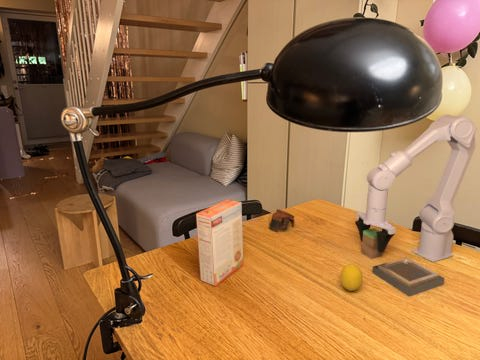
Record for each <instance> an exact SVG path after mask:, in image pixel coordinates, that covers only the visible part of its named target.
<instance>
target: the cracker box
mask: <svg viewBox="0 0 480 360" xmlns="http://www.w3.org/2000/svg"><path fill="white" fill-rule="evenodd" d="M242 203H243V202H241V201H237V200H233V199H227V198H226V199H224V200H223V201H220V202H218V203H216V204H214V205H211V206H209V207H208V208H205V209H203V210H201V211H198V212H197V213H196V214H195V215H196V216H195V217H196V218H195V219H196V234H197V245H198V246H197V247H198V261H199V262H198V263H199V277H200V281H201V282H204V283H206V284H208V285H211V286H212V287H217V286H218V285H219V284H221V282H224V280H226V279H228V277H230V276H231V275H233V274H234V273H235V272H236V271H237V270H239V269H240V268H242V267H243V266H244V247H243V246H244V245H243V244H244V243H243V241H244V240H243V215H242V214H243V213H242V210H243V206H242Z"/></svg>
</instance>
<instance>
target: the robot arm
mask: <svg viewBox="0 0 480 360" xmlns="http://www.w3.org/2000/svg"><path fill="white" fill-rule="evenodd" d="M477 129H478V127H477V126H476V124H475V123H474V121H473V120H472V119H470V118H469V117H466V116H465V117H464V116H456V115H451V114H443V115H441V116H439V117H438V118H437V119H436V120H434V121H433V122H431V124H430V125H429V127H428V128H427V129H426V130H425V131H424V132H423V133H422V134H420V136H418V137H417V138H416V139H415V140H414V141H412V143H410V144H409V146H407V147H405V148H404V150H397V151H395V152H394V151H392V152H391V153H390V157H388V158H387V159H386V160H385V161H383V162H382V163H379V164H378V165H377V167H374V168H372V169H370V170H369V172H367V175H365V179H366V182H367V183H368V186H367V187H368V190H367V199H366V208H365V212H362V211H359V212H356V216H355V219H357V220H355V221H354V223H355V224H354V225H356V228H357V231H358V234H359V239H360V243H362V239H363V231H364V230H368V229H371V226H374V227H377V228H378V229H380V230H379V231H378V232H376V233H377V237H378V252H383V253H384V252H385V251H386V249H387V246H388V244H389V242H390V241H391V239H392V238H393V237H394V236H395V234H396V229H397V228H396V227H395V226H394V225H392V224H391V223H390V222H388V221H387V220H386V215H387V214H386V212H387V205H388V204H387V203H388V193H389V188H391V187H392V185H393V183H394V180H395V179H396V178H397V177H398V176H400V175H401V174H402V173H403V172H404V171H406V170H407V169H408V168H409V167H410V166H412V164H413V163H412V162H413V159H415V157H417V156H418V155H420V154H421V153H423V152H424V151H425V150H427V149H428V148H430V147H431V146H432V145H434V144H435V143H438V142H447V143H448V144H449V146H450V148H451V151H450V153H449V155H448V157H447V161H446V164H445V166H444V168H443V170H442V174H441V176H440V179H439V181H438V184H437V186H436V189H435V191H434V194H433V196H432V197H431V198H428V199H427V200H426V202H425V204H424V205H423V206H422V207H421V208H420V210H419V213H418V216H419V219H420V220H421V228H420V229H421V230H420V233H419V234H420V236H419V243H418V247H417V248H414V249H412V250H411V252H413V253H414V254H416V255H419V257H422V258H423V259H426V260H428V261H430V262H433V263H434V262H437V261H441V260H444V259H447V258H451V257H453V256H454V254H453V253H452V250H453V249H452V248H453V243H454V233H453V231H452V229H453V228H454V224H455V215H456V210H455V206H454V205H453V203H454V201H455V198H456V195H457V193H458V191H459V189H460V186H461V183H462V181H463V179H464V176H465V173H467V169H468V167H469V164H470V162H471V160H472V157H473V155H474V152H475V150H476V136H475V135H476V132H477Z"/></svg>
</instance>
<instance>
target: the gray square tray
mask: <svg viewBox="0 0 480 360" xmlns="http://www.w3.org/2000/svg"><path fill="white" fill-rule="evenodd" d="M371 272H372V274H374V275H375V276H377V277H378V278H380V280H382V281H384V282H385V283H387V284H389V285H391V286H392V287H393V288H395V289H397V290H398V291H400V292H401V293H403V294H405V296H407V297H413V296H415V295H418V294H420V293H423V292H427V291H430V290H432V289H435V288H439V287H441V286H444V283H445V277H444V276H441V275H440V274H438V273H437V272H435V271H433V270H431V269H429V268H427V267H425V266H424V265H421V264H420V263H418V262H417V261H414V260H412V259H410V258H409V257H406V256H405V257H401V258H399V259H394V260H391V261H388V262H384V263H381V264H377V265H373V266H372V270H371Z"/></svg>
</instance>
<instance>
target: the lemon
mask: <svg viewBox="0 0 480 360" xmlns="http://www.w3.org/2000/svg"><path fill="white" fill-rule="evenodd" d="M339 277H340V278H339V279H340V282H341V283H340V284H341V285H342V286H343V288H344V289H346V290H347V291H349V292H352V291H357V290H358V289H360V287H361V285H362V283H363V273H362V270H361V268H360V267H359V266H357V265H356V264H354V263H349V264H346V265H344V266H343V268H342V269H341V273H340V276H339Z"/></svg>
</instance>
